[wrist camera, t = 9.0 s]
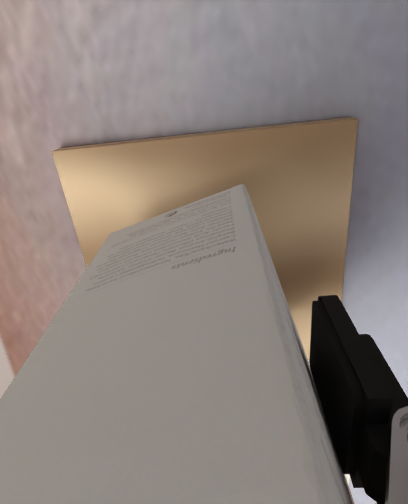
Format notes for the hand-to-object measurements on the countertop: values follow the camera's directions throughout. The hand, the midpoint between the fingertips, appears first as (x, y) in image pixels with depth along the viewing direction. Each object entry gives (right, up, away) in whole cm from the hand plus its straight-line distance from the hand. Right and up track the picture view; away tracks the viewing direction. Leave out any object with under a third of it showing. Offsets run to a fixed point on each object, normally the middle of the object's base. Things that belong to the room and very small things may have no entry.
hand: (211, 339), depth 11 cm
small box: (0, +1, +3) cm, 3 cm away
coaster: (0, +3, +5) cm, 6 cm away
